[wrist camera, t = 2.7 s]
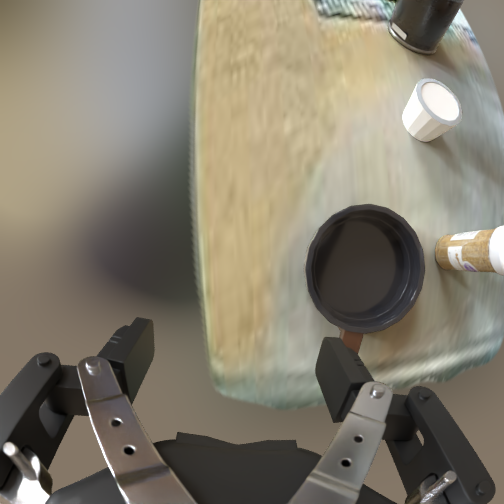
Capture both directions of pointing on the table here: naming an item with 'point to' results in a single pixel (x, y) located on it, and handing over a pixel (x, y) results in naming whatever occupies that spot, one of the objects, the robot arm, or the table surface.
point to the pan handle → (351, 339)
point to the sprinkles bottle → (472, 251)
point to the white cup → (431, 110)
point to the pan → (364, 268)
